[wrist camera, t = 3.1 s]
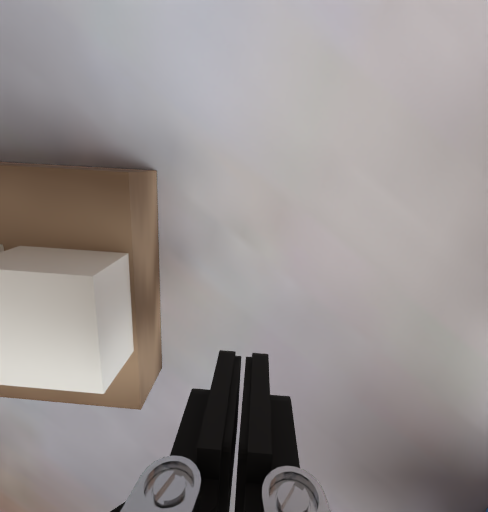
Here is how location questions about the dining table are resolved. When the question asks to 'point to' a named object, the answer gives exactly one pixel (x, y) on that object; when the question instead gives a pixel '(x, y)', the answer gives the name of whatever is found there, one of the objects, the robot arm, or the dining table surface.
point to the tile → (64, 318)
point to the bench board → (93, 239)
